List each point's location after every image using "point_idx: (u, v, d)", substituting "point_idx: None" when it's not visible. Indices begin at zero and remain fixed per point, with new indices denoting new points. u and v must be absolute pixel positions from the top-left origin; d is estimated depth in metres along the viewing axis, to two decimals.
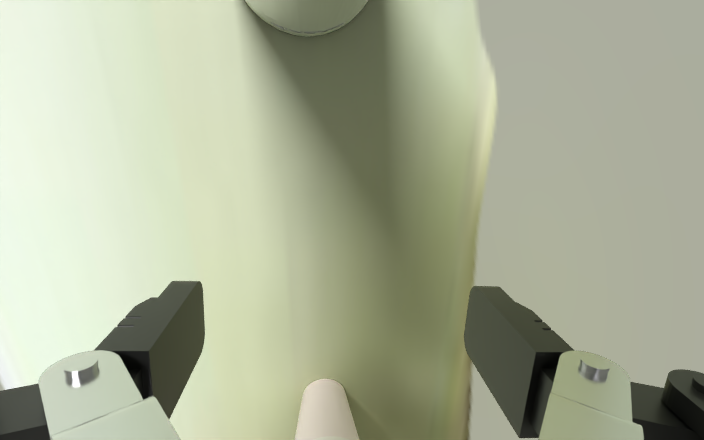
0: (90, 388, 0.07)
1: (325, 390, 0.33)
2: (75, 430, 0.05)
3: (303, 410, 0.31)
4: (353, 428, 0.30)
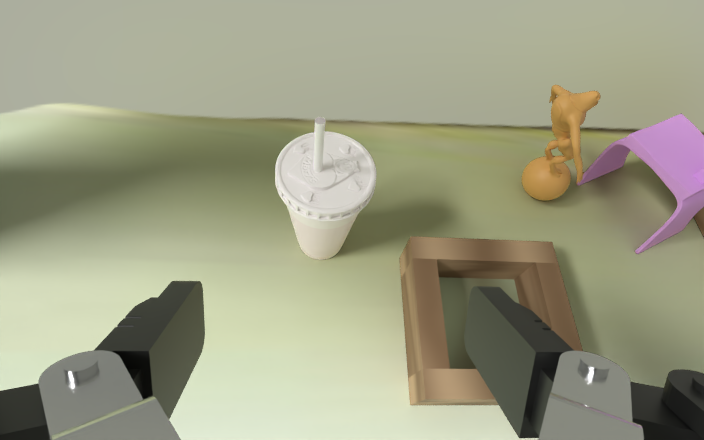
0: (90, 388, 0.07)
1: None
2: (75, 430, 0.05)
3: (302, 241, 0.30)
4: None
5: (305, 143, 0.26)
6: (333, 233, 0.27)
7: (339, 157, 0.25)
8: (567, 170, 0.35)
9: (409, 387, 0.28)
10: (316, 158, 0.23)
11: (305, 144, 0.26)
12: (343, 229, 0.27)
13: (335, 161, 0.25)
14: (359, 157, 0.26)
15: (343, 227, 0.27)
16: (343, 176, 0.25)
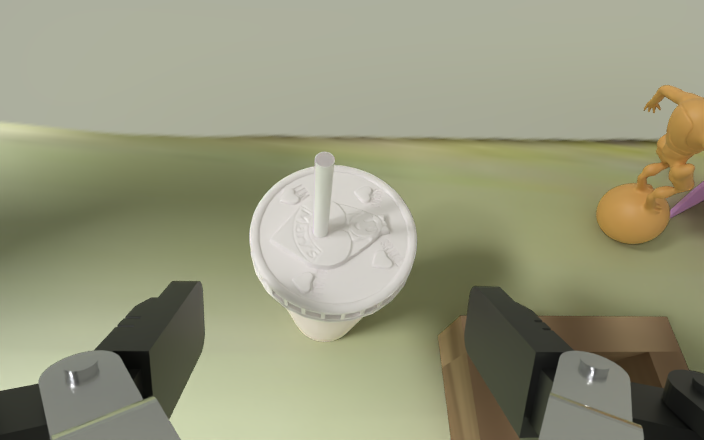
0: (90, 388, 0.07)
1: None
2: (75, 430, 0.05)
3: (298, 324, 0.20)
4: None
5: (299, 186, 0.16)
6: (346, 323, 0.17)
7: (355, 208, 0.16)
8: (666, 204, 0.25)
9: None
10: (318, 218, 0.14)
11: (299, 188, 0.16)
12: None
13: (349, 216, 0.15)
14: (387, 207, 0.16)
15: None
16: (363, 243, 0.15)
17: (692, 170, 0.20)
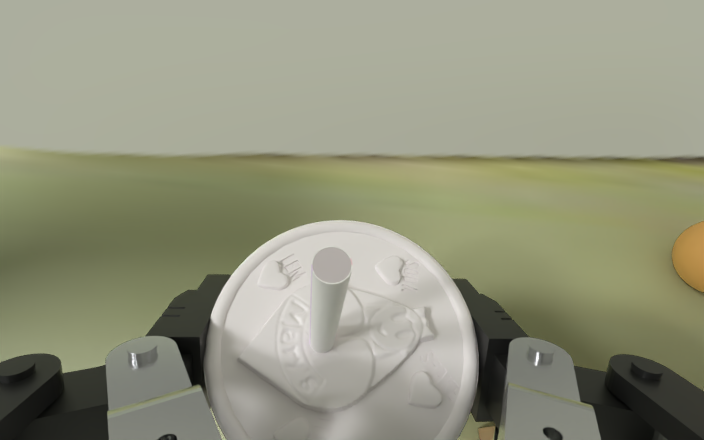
0: (147, 370, 0.07)
1: None
2: (127, 409, 0.06)
3: None
4: None
5: (289, 257, 0.10)
6: None
7: (378, 296, 0.10)
8: None
9: None
10: (318, 337, 0.08)
11: (289, 260, 0.10)
12: None
13: (368, 312, 0.09)
14: (428, 292, 0.10)
15: None
16: (393, 360, 0.09)
17: None
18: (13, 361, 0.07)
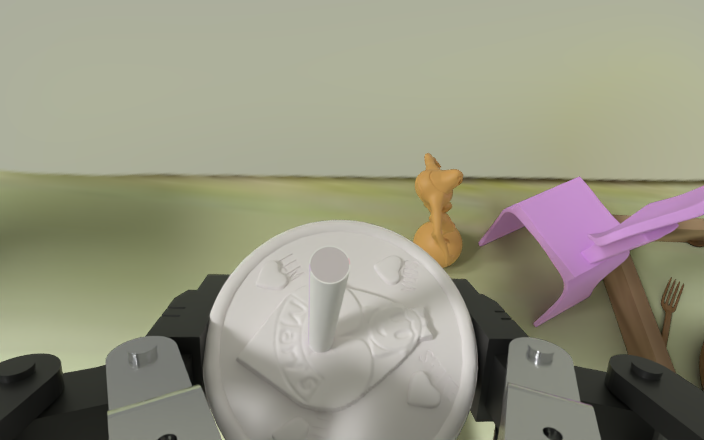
0: (148, 370, 0.07)
1: None
2: (127, 408, 0.06)
3: None
4: None
5: (288, 256, 0.10)
6: None
7: (377, 295, 0.10)
8: (456, 238, 0.32)
9: None
10: (317, 336, 0.08)
11: (288, 260, 0.10)
12: None
13: (367, 312, 0.09)
14: (427, 292, 0.10)
15: None
16: (391, 360, 0.09)
17: None
18: (13, 361, 0.07)
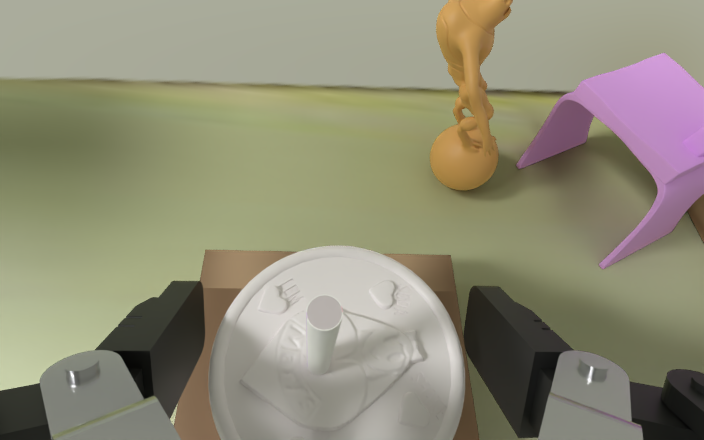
0: (91, 388, 0.07)
1: None
2: (76, 429, 0.05)
3: None
4: None
5: (288, 281, 0.11)
6: None
7: (371, 319, 0.10)
8: None
9: None
10: (314, 364, 0.08)
11: (288, 285, 0.11)
12: None
13: (362, 336, 0.10)
14: (418, 315, 0.11)
15: None
16: (384, 381, 0.10)
17: None
18: None
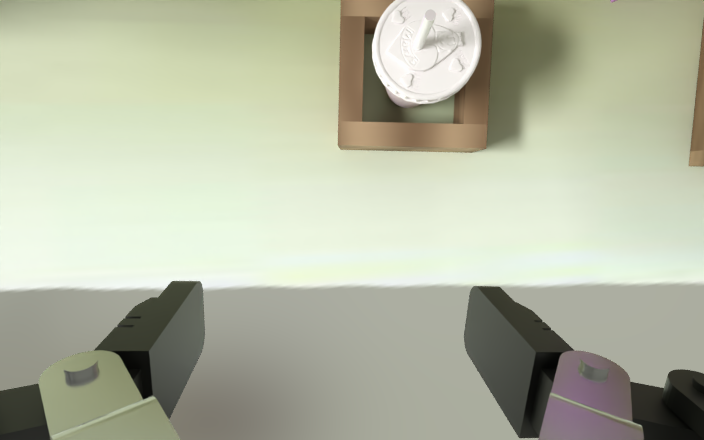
0: (90, 388, 0.07)
1: None
2: (75, 430, 0.05)
3: (393, 98, 0.30)
4: None
5: (404, 8, 0.23)
6: None
7: (442, 27, 0.23)
8: None
9: None
10: (419, 41, 0.22)
11: (404, 10, 0.23)
12: None
13: (437, 34, 0.23)
14: (464, 25, 0.23)
15: None
16: (445, 53, 0.23)
17: None
18: None
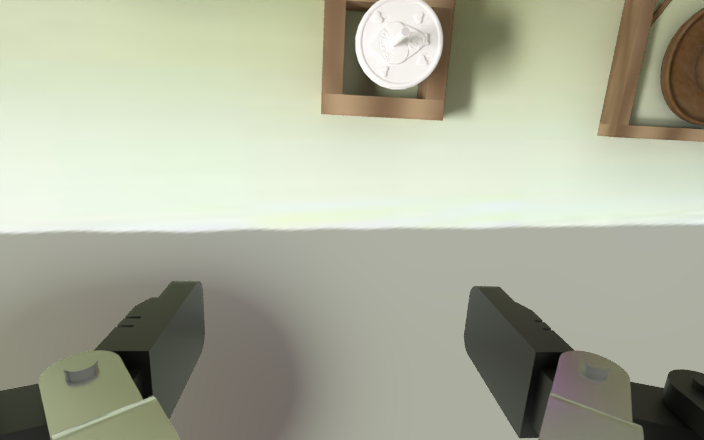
0: (90, 388, 0.07)
1: None
2: (75, 430, 0.05)
3: None
4: None
5: (383, 10, 0.28)
6: None
7: (412, 28, 0.29)
8: None
9: None
10: (395, 43, 0.27)
11: (383, 11, 0.28)
12: None
13: (409, 34, 0.29)
14: (430, 27, 0.29)
15: None
16: (414, 50, 0.29)
17: None
18: None
